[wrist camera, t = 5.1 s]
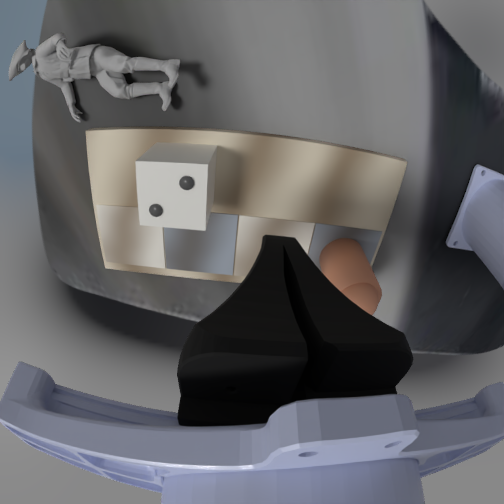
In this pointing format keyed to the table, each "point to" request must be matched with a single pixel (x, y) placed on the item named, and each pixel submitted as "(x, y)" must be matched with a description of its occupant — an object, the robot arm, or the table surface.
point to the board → (241, 200)
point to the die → (176, 185)
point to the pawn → (351, 273)
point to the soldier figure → (92, 69)
